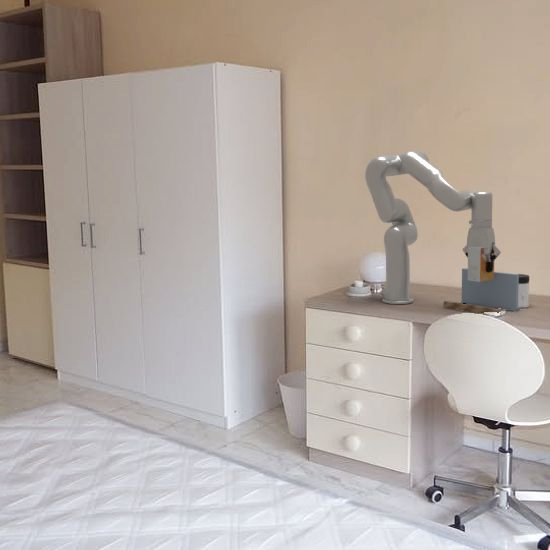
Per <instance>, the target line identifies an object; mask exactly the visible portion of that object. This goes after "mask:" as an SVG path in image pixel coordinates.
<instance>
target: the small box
mask: <svg viewBox="0 0 550 550" xmlns="http://www.w3.org/2000/svg"><path fill="white" fill-rule="evenodd" d="M491 251H492V250H491ZM483 253H484V248H481V247H468V257H467V269H468V280H470V281H476V282H482V281H489V280H494V272H495V260H494V261H493V271H492V272H486V263H487V262H488V260H487V257H486V255H484V254H483ZM494 254H495V253H493V255H494Z"/></svg>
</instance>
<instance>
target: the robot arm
mask: <svg viewBox="0 0 550 550" xmlns="http://www.w3.org/2000/svg"><path fill="white" fill-rule="evenodd" d="M429 160H430V159H429V157H428V155H427V154H426V153H425V152H424V151H422V150H408V151H406V152H404V153H400V154H399V153H398V154H392V155H390V154H386V155H385V154H384V155H378V156H376V157H373V158H372V159H371V160H370V161H369V163H368V164H367V166H366V169H365V171H364V172H365V174H364V175H365V177H364V178H365V182H366V185H367V188H368V191H369V194H370V196H371V198H372V201H373V204H374V206H375V207H374V208H375V210H376V212H377V215H378V218H379V219H380V221H381V222H382V223H387V224H390V223H391V226H389V227H388V228H387V229H386V230H385V232H384V234H383V244H384V249H385V289H384V288H383V289H381V291H379V295H383V297H382V301H381V302H383V303H385V304H390V305H391V304H392V305H408V304H411V303H414V298H413V297H411V296H410V285H411V284H410V282H411V281H410V277H411V276H410V273H411V271H410V270H411V269H410V267H411V265H410V260H411V259H410V252H409V246H411V245H413V244H414V243H415V242H416V241H417V239H418V236H419V233H418V228H417V225H416V222H415V219H414V217H413V214H412V212H411V209H410V207H409V205H408V204H407V202H406V201H405V200H403V199H401V198H396V197H395V195H394V193H393V189H392V187H391V185H390V184H389V183H390V182H388V180H387V178H386V177H393V176H401V175H409V176H411V178H413V179H415V180H416V181H417V182H418V183H419V184H421V185H422V186H423V187H425V188H426V189H427V191H428V192H429V193H430V194H431V196H432V197H433V198H434V199H435V200H437V201H438V202H439V203H440V204H441V205H443V206H445V207H446V208H447V209H449V210H450V211H453V212H456V213H457V212H462V211H468V210H471V218H470V219H471V220H469V221H468V224H469V225H470V226H471V227H469V228H468V232H467V238H466V245H465V246H464V247H463V248H462V251H463V253H464V255H465V257H466V258H468V247H481V248H484V253H483V254H484V255H486V257H487V260H488V262H487V263H486V272H492V271H493V261H494V262H495V260H496V259H497V258H498V257H499V255H500V254H501V253H502V252H501V250H500V249H499V248H498V247H497V246H496V238H495V237H496V235H495V231H494V227H493V193H492V192H491V191H487V190H486V191H484V190H479V191H472V190H457V189H456V188H454V187H453V186H451V184H449V183H448V182H447V181H446V180H445V179H444V177H443V172H442V170H441V169H440V168H438V167H437V166H436V165H434V164H433V163H432V162H430V161H429ZM491 250H492V251H491ZM493 253H494V255H493Z"/></svg>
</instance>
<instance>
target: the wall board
mask: <svg viewBox="0 0 550 550" xmlns="http://www.w3.org/2000/svg"><path fill="white" fill-rule="evenodd" d="M519 274H520V273H509V272H501V271H494V280H489V281H482V282H476V281H470V280H468V268H463V267H462V269H461V302H460V303H466V304H469V305H470V304H471V305H477V306H482V307H488V308H501V310H502V309H506V310H505V311H508V310H510V311H511V312H515V311H516V312H518V310H519V311H520V309H521V308H518V287H519Z"/></svg>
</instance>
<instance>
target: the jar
mask: <svg viewBox="0 0 550 550" xmlns="http://www.w3.org/2000/svg"><path fill="white" fill-rule="evenodd" d="M518 274H519V287H518V308H520V309H522V308H523V307H524V308H529V299H530V297H529V295H530V293H529V292H530V291H529V290H530V276H529V275H528V274H524V273H518ZM524 308H523V309H524Z"/></svg>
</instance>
